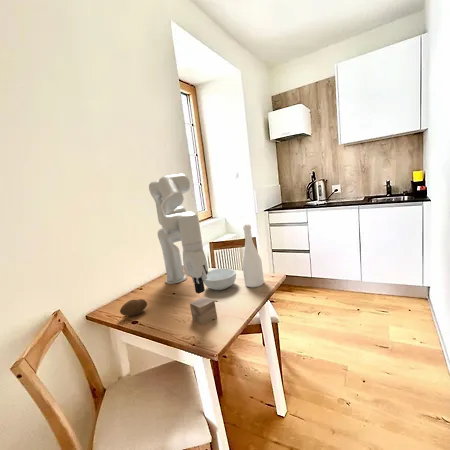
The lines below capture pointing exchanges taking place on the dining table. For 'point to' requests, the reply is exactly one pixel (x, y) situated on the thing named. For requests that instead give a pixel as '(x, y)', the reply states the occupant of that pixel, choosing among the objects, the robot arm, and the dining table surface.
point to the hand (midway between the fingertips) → (200, 291)
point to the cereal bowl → (220, 278)
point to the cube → (203, 310)
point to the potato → (133, 307)
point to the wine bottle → (251, 261)
